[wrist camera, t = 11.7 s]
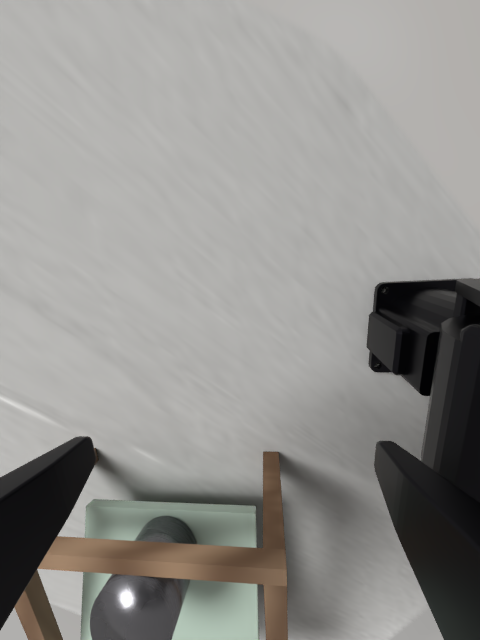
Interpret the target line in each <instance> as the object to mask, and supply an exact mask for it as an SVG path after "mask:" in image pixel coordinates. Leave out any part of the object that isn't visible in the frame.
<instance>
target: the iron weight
mask: <svg viewBox="0 0 480 640" xmlns="http://www.w3.org/2000/svg"><path fill="white" fill-rule="evenodd" d="M134 541H146V542H164V543H181V544H197V542H196V539H195V537H194V534H193V533H192V531H191V530H190V528H189V527H188V526H187V525H186V524H185V523H184V522H182V521H181V520H179V519H177V518H175V517H171V516H160V517H156V518H154V519H152V520H150V521H149V522H148V523H147V524H145V526H144V527H143V528H142V530H141V531H140V533H139V534H138V536H137V537H136V539H135V540H134ZM190 580H191V579H176V578H162V577H148V576H134V575H120V574H112V575H111V576H110V578H109V579H108V581H107V582H106V584H105V585H104V587H103V588H102V590H101V591H100V593H99V595H98V596H97V598H96V599H95V601H94V604H93V606H92V609H91V614H90V632H91V637H92V640H172V637H173V634H174V630H175V627H176V624H177V621H178V618H179V615H180V612H181V608H182V605H183V602H184V599H185V596H186V593H187V590H188V586H189V583H190Z"/></svg>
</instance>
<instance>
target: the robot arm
mask: <svg viewBox="0 0 480 640" xmlns="http://www.w3.org/2000/svg"><path fill="white" fill-rule="evenodd" d="M383 287H386V291H385V292H384V293H381V289H382V288H383ZM367 348H368V349H369V350H370V354H369V367H370V368H371V369H372V370H373V371H374V372H392V373H394V374H395V375H401V376H402V377H403V378H404V379H405V380H406V381H407V382H409V383H410V384H411V385H412V386H413V387H414V388H415V389H416V390H417V391H418V392H419V393H420V394H421V395H424V396H430V400H429V407H428V413H427V420H426V426H425V433H424V439H423V446H422V452H421V461H420V460H418V459H417V458H416V457H414V456H413V455H411V454H410V453H409V452H407V451H406V450H404V449H403V448H401V447H400V446H399V445H397V444H396V443H394V442H392V441H379V442H377V444H376V452H375V462H374V466H375V472H376V475H377V478H378V481H379V484H380V487H381V490H382V493H383V496H384V498H385V501H386V504H387V507H388V510H389V513H390V516H391V519H392V522H393V525H394V527H395V530H396V533H397V535H398V537H399V540H400V542H401V544H402V547H403V549H404V551H405V553H406V556H407V558H408V560H409V562H410V565H411V567H412V569H413V571H414V574H415V576H416V578H417V580H418V582H419V585H420V587H421V589H422V591H423V594H424V596H425V598H426V600H427V603H428V605H429V607H430V609H431V611H432V614H433V616H434V618H435V621H436V623H437V625H438V627H439V629H440V632H441V634H442V636H443V638H444V640H480V279H472V278H469V279H446V280H423V281H400V282H382V283H379V284H378V285H377V286H376V287H375V293H374V305H373V312H371V314H370V315H369V324H368V336H367ZM376 363H380V364H379V365H378V366H377V367H374V366H375V364H376ZM95 462H96V455H95V450H94V446H93V442H92V439H91V438H90V437H82V436H79V437H75V438H73V439H71V440H70V441H68V442H66V443H64V444H62V445H60V446H58V447H57V448H55V449H53V450H51V451H49V452H47V453H45V454H43V455H42V456H40V457H38V458H36V459H34V460H32V461H30V462H28V463H27V464H25V465H23V466H21V467H19V468H17V469H15V470H14V471H12V472H10V473H8V474H6V475H4V476H2V477H0V630H1V628H2V627H3V625H4V623H5V622H6V620H7V618H8V616H9V615H10V613H11V612H12V610H13V608H14V607H15V605H16V603H17V602H18V600H19V599H20V597H21V595H22V594H23V592H24V590H25V589H26V587H27V585H28V584H29V582H30V580H31V579H32V577H33V575H34V574H35V572H36V570H37V569H38V567H39V565H40V564H41V562H42V560H43V559H44V557H45V555H46V554H47V552H48V550H49V549H50V547H51V545H52V544H53V542H54V540H55V539H56V537H57V535H58V534H59V532H60V530H61V529H62V527H63V525H64V524H65V522H66V520H67V519H68V517H69V515H70V513H71V511H72V509H73V507H74V506H75V504H76V502H77V500H78V498H79V496H80V494H81V492H82V490H83V488H84V486H85V483H86V481H87V479H88V477H89V475H90V473H91V471H92V469H93V467H94V465H95Z"/></svg>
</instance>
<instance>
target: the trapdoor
mask: <svg viewBox="0 0 480 640" xmlns="http://www.w3.org/2000/svg"><path fill="white" fill-rule="evenodd" d="M160 516H171V517H175V518H177V519H179V520H181V521H182V522H184V523H185V524H186V525H187V526H188V527H189V528H190V530H191V531H192V533H193V534H194V537H195V539H196V542H197V544H199V545H216V546H234V547H251V548H257V532H256V506H245V505H221V504H196V503H172V502H148V501H123V500H99V499H94V500H93V501H91V502H90V503H89V504H88V505H87V506H86V519H85V538H93V539H111V540H129V541H134V540H135V539H136V537H137V536H138V534H139V533H140V531H141V530H142V528H143V527H144V526H145V524H147V523H148V522H149V521H150V520H152V519H154V518H156V517H160ZM111 575H112V574H106V573H92V572H83V592H82V617H81V618H82V619H81V640H92V637H91V632H90V614H91V609H92V606H93V604H94V601H95V599H96V598H97V596H98V595H99V593H100V591H101V590H102V588H103V587H104V585H105V584H106V582H107V581H108V579H109V578H110V576H111ZM172 640H259V613H258V584H247V583H233V582H219V581H205V580H190V583H189V586H188V590H187V593H186V596H185V599H184V602H183V605H182V608H181V612H180V615H179V618H178V621H177V624H176V627H175V630H174V634H173V637H172Z"/></svg>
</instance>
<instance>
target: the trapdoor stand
mask: <svg viewBox="0 0 480 640" xmlns="http://www.w3.org/2000/svg"><path fill="white" fill-rule="evenodd" d="M94 450H95V455H96V462H95V464H96V463H97V461H98V456H97V452H96V448H94ZM38 569H50V570H64V571H78V572H92V573H106V574H120V575H134V576H148V577H162V578H176V579H191V580H205V581H219V582H233V583H247V584H261V585H264V604H265V625H266V640H288V627H287V566H286V552H285V538H284V523H283V509H282V495H281V480H280V466H279V452H263V548H251V547H234V546H216V545H199V544H181V543H164V542H146V541H129V540H111V539H93V538H76V537H58V536H57V537H56V539H55V540H54V542H53V544H52V545H51V547H50V549H49V550H48V552H47V554H46V555H45V557H44V559H43V560H42V562H41V564H40V565H39V567H38ZM15 609H16V612H17V614H18V617H19V619H20V621H21V624H22V626H23V628H24V631H25V633H26V635H27V638H28V640H63V638H62V636H61V633H60V630H59V627H58V625H57V622H56V619H55V617H54V614H53V612H52V609H51V606H50V603H49V601H48V598H47V595H46V593H45V590H44V587H43V585H42V582H41V579H40V576H39V574H38V571H37V570H36V572H35V574H34V575H33V577H32V579H31V580H30V582H29V584H28V585H27V587H26V589H25V590H24V592H23V594H22V595H21V597H20V599H19V600H18V602H17V603H16V605H15Z"/></svg>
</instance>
